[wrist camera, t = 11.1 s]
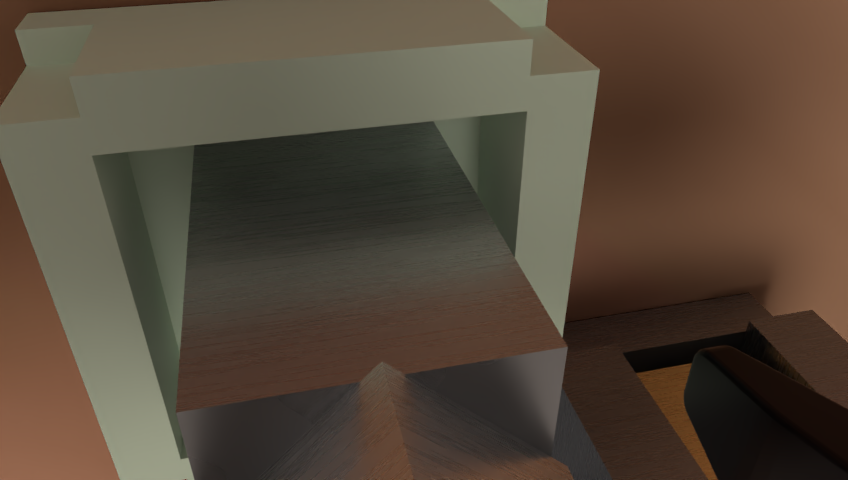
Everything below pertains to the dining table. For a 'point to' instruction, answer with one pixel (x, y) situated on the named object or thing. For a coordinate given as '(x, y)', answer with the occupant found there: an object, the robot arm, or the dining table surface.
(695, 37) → the dining table surface
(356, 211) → the grey block
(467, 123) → the grey square frame
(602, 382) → the socket block
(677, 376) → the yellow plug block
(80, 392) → the dining table surface
